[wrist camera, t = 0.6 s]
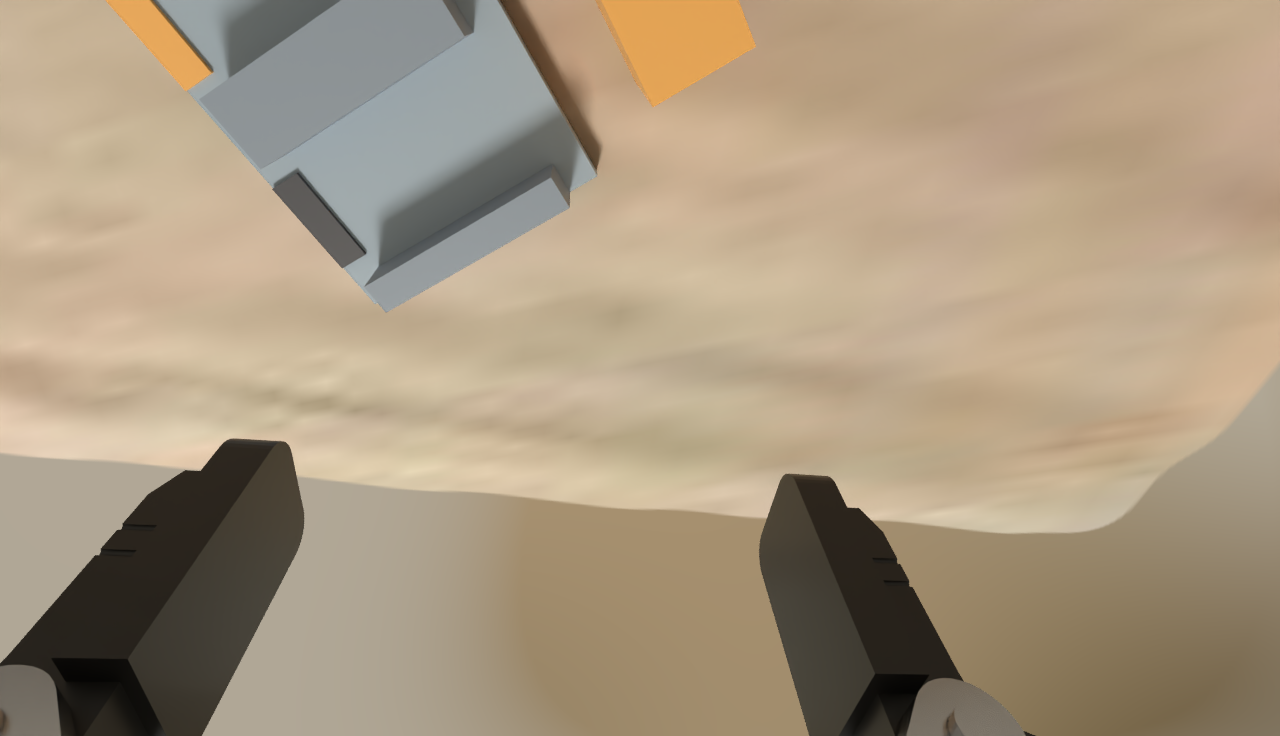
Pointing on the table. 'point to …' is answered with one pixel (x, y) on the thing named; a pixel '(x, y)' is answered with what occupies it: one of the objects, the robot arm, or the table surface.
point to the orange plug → (676, 40)
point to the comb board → (379, 123)
